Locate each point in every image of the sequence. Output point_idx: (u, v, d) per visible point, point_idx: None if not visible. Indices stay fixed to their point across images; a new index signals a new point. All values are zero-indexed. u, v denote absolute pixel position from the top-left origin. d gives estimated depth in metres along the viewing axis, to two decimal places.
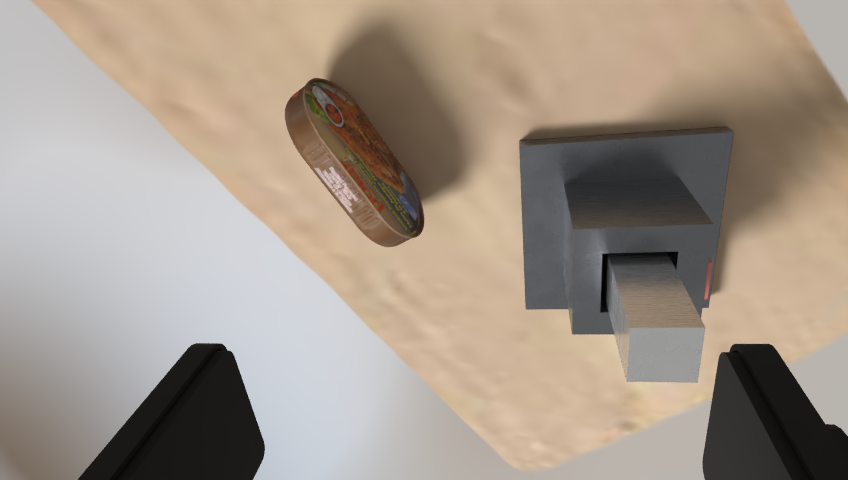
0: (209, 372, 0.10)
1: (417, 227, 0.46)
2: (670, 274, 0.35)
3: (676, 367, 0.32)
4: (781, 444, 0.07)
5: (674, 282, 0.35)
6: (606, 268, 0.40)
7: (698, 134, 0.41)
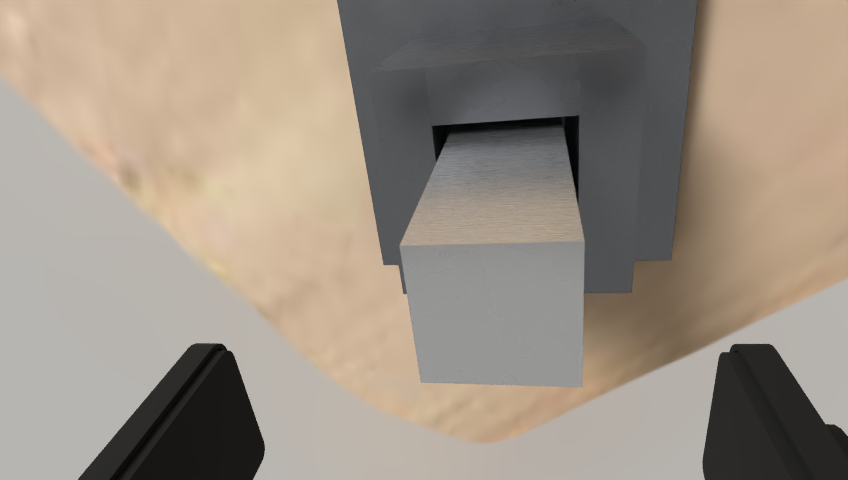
0: (209, 372, 0.10)
1: None
2: None
3: (459, 343, 0.13)
4: (781, 444, 0.07)
5: None
6: (522, 124, 0.20)
7: (674, 218, 0.28)
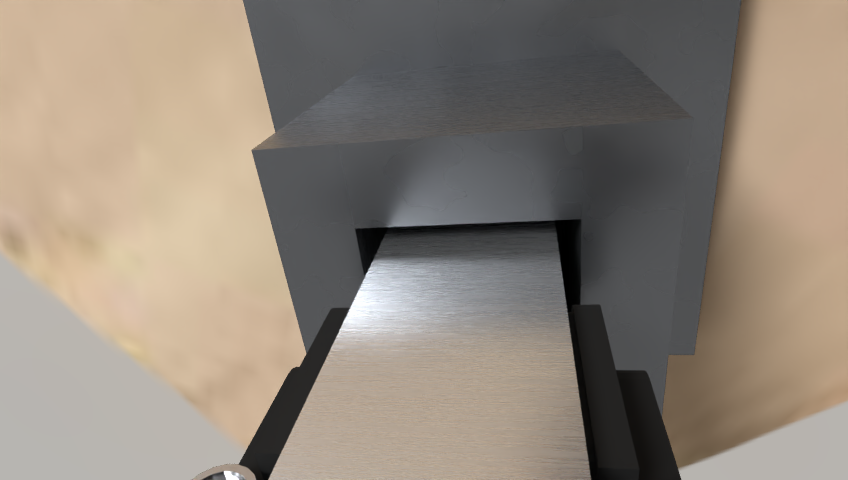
0: None
1: None
2: None
3: None
4: (577, 379, 0.09)
5: None
6: None
7: (699, 304, 0.21)
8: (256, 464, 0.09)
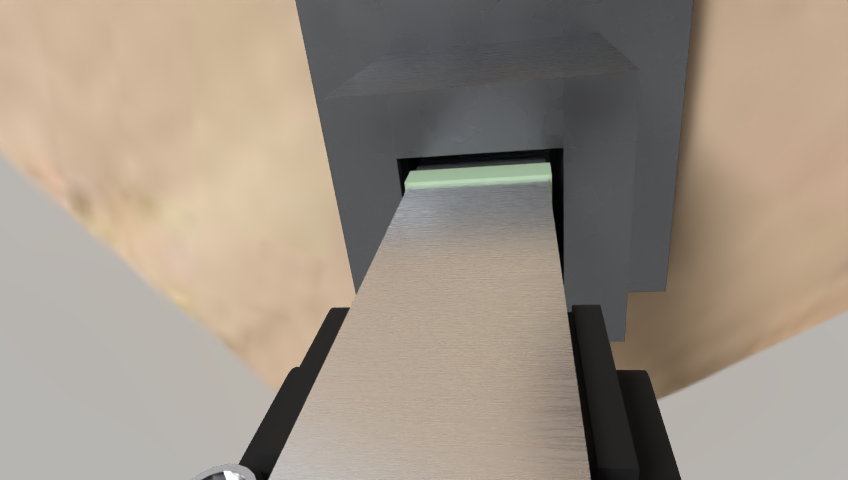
0: None
1: None
2: None
3: None
4: (577, 379, 0.09)
5: None
6: (494, 221, 0.13)
7: (668, 247, 0.26)
8: (256, 464, 0.09)
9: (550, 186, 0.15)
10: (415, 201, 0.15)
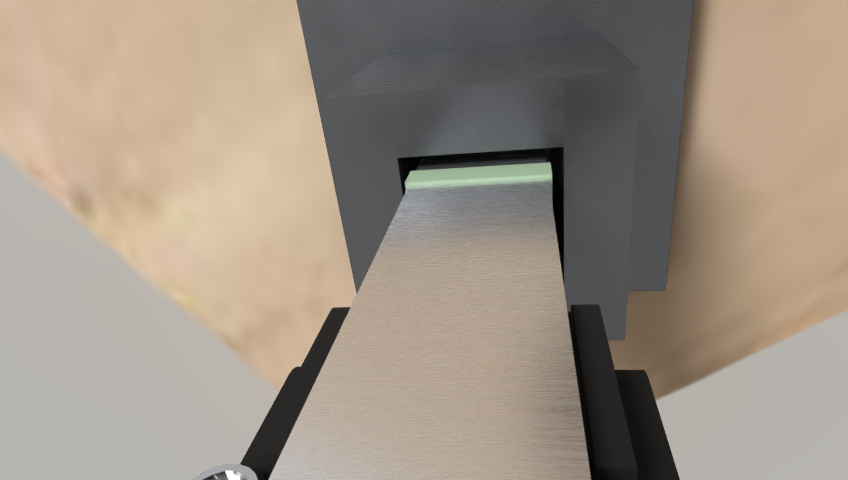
0: None
1: None
2: None
3: None
4: None
5: None
6: (495, 221, 0.13)
7: (668, 246, 0.26)
8: (258, 464, 0.09)
9: (550, 186, 0.15)
10: (415, 201, 0.15)
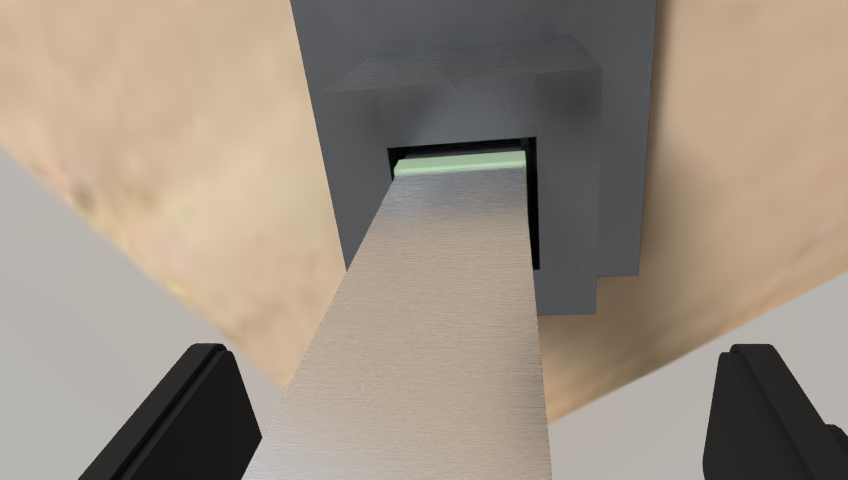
0: (209, 372, 0.10)
1: None
2: None
3: None
4: (781, 444, 0.07)
5: None
6: (474, 199, 0.15)
7: (639, 233, 0.28)
8: None
9: (524, 171, 0.17)
10: (403, 185, 0.16)
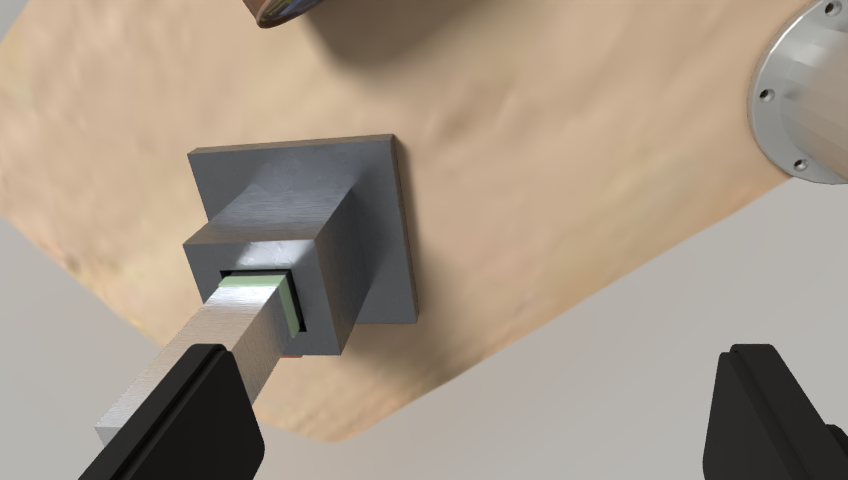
0: (209, 372, 0.10)
1: (269, 19, 0.34)
2: (251, 395, 0.30)
3: None
4: (781, 444, 0.07)
5: None
6: (239, 309, 0.32)
7: (412, 298, 0.45)
8: None
9: (280, 288, 0.34)
10: (216, 296, 0.33)
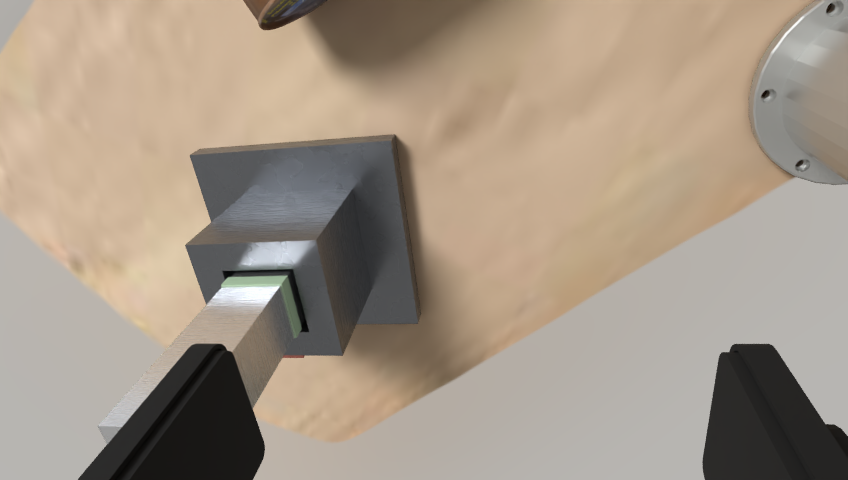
0: (209, 372, 0.10)
1: (271, 21, 0.34)
2: (254, 395, 0.30)
3: None
4: (781, 444, 0.07)
5: None
6: (241, 309, 0.32)
7: (414, 298, 0.45)
8: None
9: (282, 288, 0.34)
10: (219, 296, 0.34)
